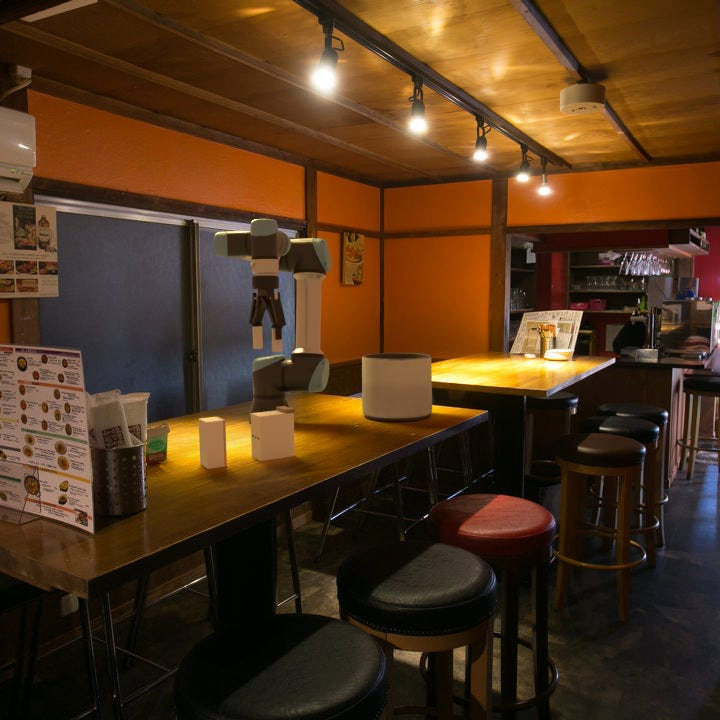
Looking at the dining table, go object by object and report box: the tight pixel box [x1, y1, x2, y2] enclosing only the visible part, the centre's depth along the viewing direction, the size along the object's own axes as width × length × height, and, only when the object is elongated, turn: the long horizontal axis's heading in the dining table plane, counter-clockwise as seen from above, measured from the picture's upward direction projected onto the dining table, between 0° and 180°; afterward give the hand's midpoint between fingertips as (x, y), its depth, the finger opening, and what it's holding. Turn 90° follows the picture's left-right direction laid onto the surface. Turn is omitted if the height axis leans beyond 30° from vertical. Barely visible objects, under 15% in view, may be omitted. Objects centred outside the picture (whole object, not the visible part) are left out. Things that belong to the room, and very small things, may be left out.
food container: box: [146, 421, 171, 467], centre depth 178 cm, size 12×6×10 cm, turn 148°
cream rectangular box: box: [250, 406, 296, 462], centre depth 181 cm, size 6×10×13 cm, turn 122°
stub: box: [198, 416, 228, 470], centre depth 172 cm, size 6×5×12 cm
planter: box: [361, 352, 433, 422], centre depth 242 cm, size 25×25×22 cm
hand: (267, 350), depth 190 cm, fingers open, 13 cm apart
